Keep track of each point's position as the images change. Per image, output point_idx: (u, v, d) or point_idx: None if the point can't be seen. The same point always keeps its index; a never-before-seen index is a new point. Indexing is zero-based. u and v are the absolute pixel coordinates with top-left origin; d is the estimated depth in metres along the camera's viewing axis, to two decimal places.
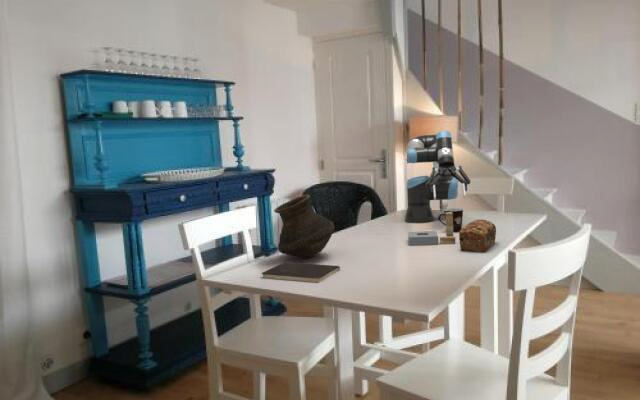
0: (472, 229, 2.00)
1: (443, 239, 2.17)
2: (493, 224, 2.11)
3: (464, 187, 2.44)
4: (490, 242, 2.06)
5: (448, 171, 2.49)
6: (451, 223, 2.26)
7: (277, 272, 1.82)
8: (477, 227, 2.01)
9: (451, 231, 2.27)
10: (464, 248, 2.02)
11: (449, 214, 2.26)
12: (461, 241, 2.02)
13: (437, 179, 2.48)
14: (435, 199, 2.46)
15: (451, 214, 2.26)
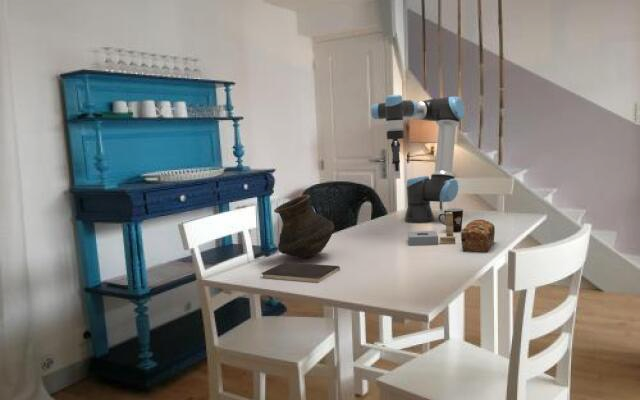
0: (474, 229, 2.00)
1: (443, 239, 2.17)
2: (492, 224, 2.12)
3: (393, 169, 2.28)
4: (490, 242, 2.06)
5: None
6: (451, 223, 2.26)
7: (277, 272, 1.82)
8: (479, 227, 2.01)
9: (451, 231, 2.27)
10: (466, 248, 2.01)
11: (449, 214, 2.26)
12: (463, 241, 2.01)
13: (393, 156, 2.39)
14: None
15: (451, 214, 2.26)
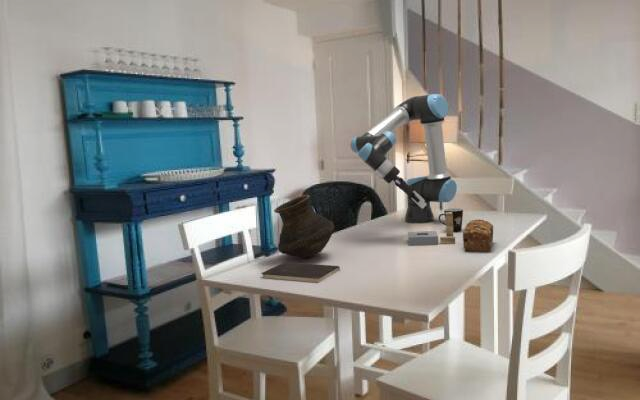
0: (476, 229, 1.99)
1: (443, 239, 2.17)
2: (491, 224, 2.12)
3: (415, 202, 2.22)
4: (491, 242, 2.06)
5: None
6: (451, 223, 2.26)
7: (277, 272, 1.82)
8: (480, 227, 2.01)
9: (451, 231, 2.27)
10: (468, 249, 2.01)
11: (449, 214, 2.26)
12: (465, 242, 2.01)
13: None
14: (424, 200, 2.34)
15: (451, 214, 2.26)
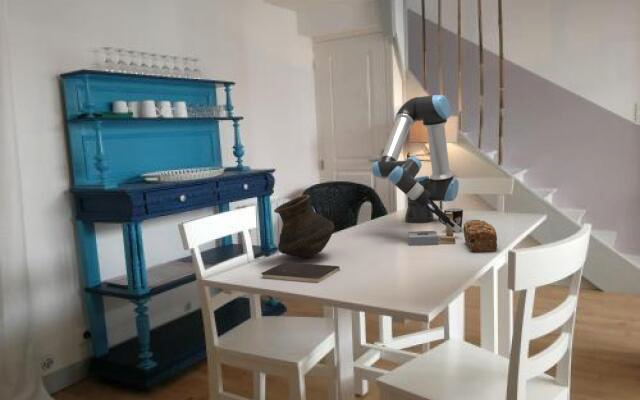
0: (483, 229, 1.99)
1: (442, 239, 2.17)
2: (487, 223, 2.13)
3: None
4: None
5: (429, 208, 2.27)
6: None
7: (277, 272, 1.82)
8: (485, 227, 2.00)
9: (451, 231, 2.27)
10: (475, 249, 1.99)
11: (449, 214, 2.26)
12: (472, 242, 1.99)
13: None
14: (460, 227, 2.29)
15: (451, 214, 2.26)
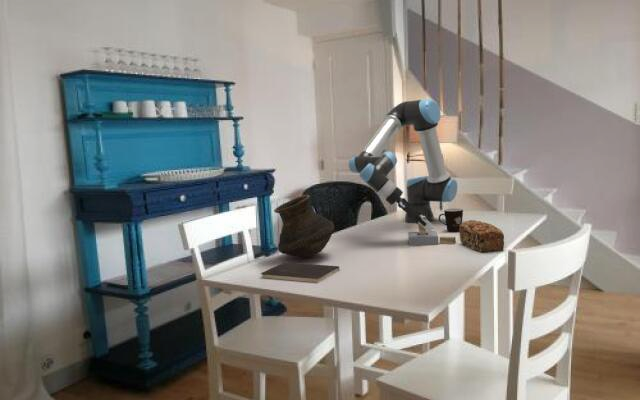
0: (490, 229, 1.98)
1: (442, 239, 2.17)
2: None
3: (421, 225, 2.18)
4: None
5: None
6: None
7: (276, 272, 1.82)
8: (491, 226, 2.00)
9: None
10: (484, 249, 1.98)
11: None
12: (482, 243, 1.97)
13: None
14: None
15: (424, 218, 2.20)
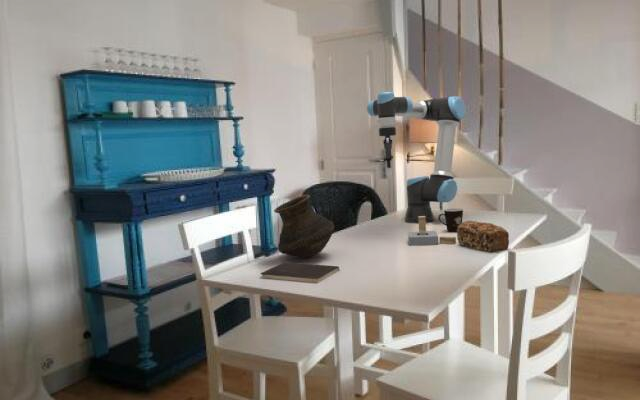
0: (497, 228, 1.99)
1: (442, 239, 2.18)
2: None
3: None
4: None
5: None
6: (424, 227, 2.21)
7: (276, 272, 1.82)
8: (496, 226, 2.01)
9: None
10: (493, 249, 1.98)
11: (422, 218, 2.21)
12: (491, 242, 1.97)
13: None
14: (392, 172, 2.44)
15: (424, 218, 2.21)
